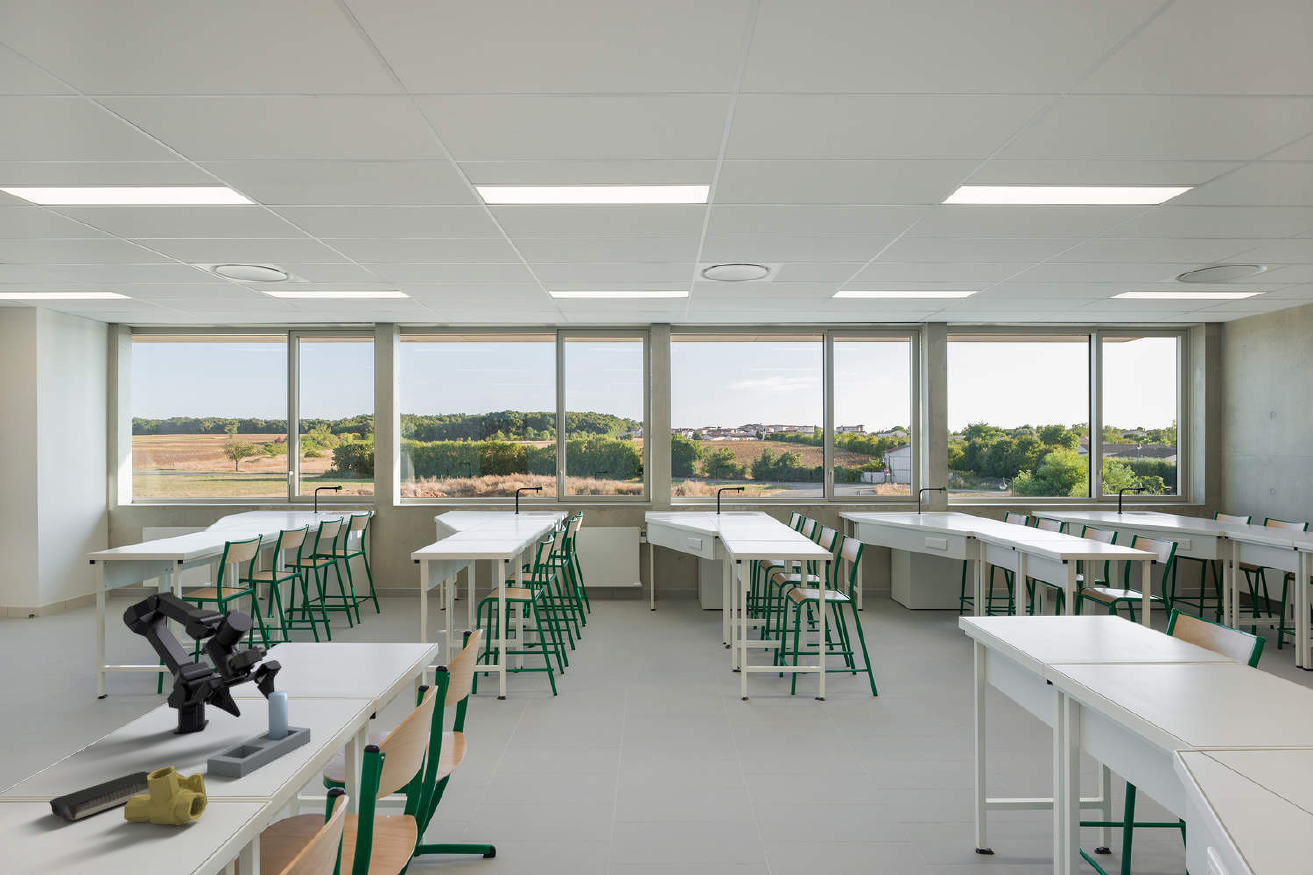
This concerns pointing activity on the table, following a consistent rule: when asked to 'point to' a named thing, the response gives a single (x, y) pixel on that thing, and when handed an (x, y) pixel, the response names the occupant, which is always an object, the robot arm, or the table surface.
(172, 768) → the ball valve
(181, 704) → the robot arm
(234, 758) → the panel
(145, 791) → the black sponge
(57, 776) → the table surface
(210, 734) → the table surface
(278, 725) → the plug
